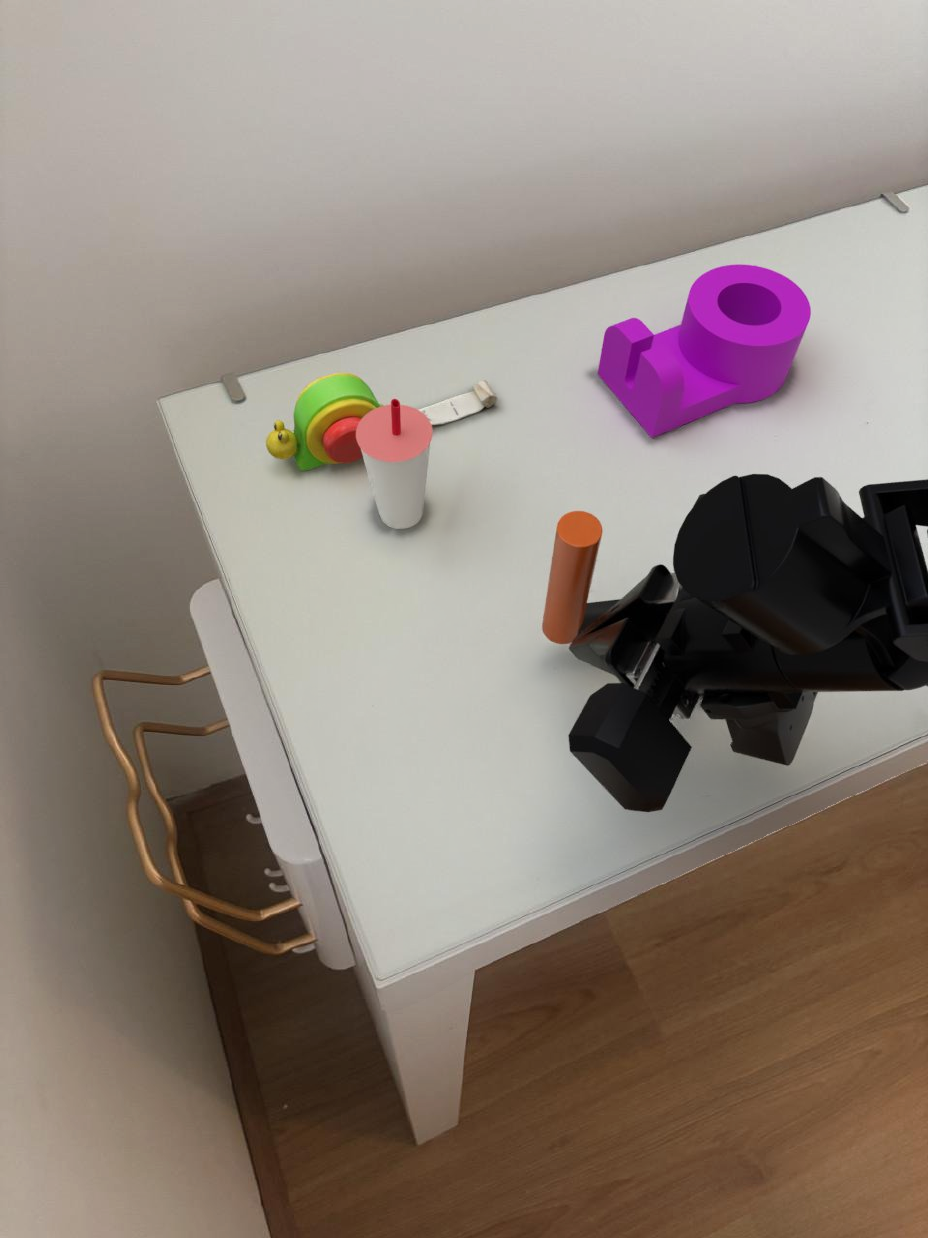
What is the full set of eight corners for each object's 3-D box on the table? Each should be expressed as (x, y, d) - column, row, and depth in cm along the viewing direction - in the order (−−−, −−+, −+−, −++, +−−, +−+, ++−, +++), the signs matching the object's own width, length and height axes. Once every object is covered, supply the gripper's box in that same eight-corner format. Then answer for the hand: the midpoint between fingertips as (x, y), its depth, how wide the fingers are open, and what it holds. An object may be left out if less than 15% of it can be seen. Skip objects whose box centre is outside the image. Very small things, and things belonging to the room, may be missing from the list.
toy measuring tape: (260, 441, 75) (244, 381, 70) (477, 374, 79) (478, 313, 74) (284, 497, 72) (269, 439, 67) (508, 424, 76) (511, 364, 71)
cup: (446, 526, 71) (444, 415, 61) (381, 548, 70) (367, 439, 59) (420, 477, 73) (413, 362, 63) (357, 497, 72) (340, 385, 62)
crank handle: (720, 594, 64) (768, 485, 54) (733, 633, 62) (785, 529, 52) (537, 615, 63) (552, 508, 53) (545, 655, 61) (562, 553, 51)
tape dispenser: (741, 310, 84) (760, 251, 78) (810, 378, 79) (836, 321, 74) (592, 368, 80) (602, 310, 74) (657, 444, 75) (672, 387, 70)
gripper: (818, 892, 44) (583, 851, 56) (921, 603, 52) (697, 622, 64) (699, 750, 39) (471, 740, 51) (833, 458, 47) (610, 509, 60)
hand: (575, 649), depth 57 cm, fingers closed
